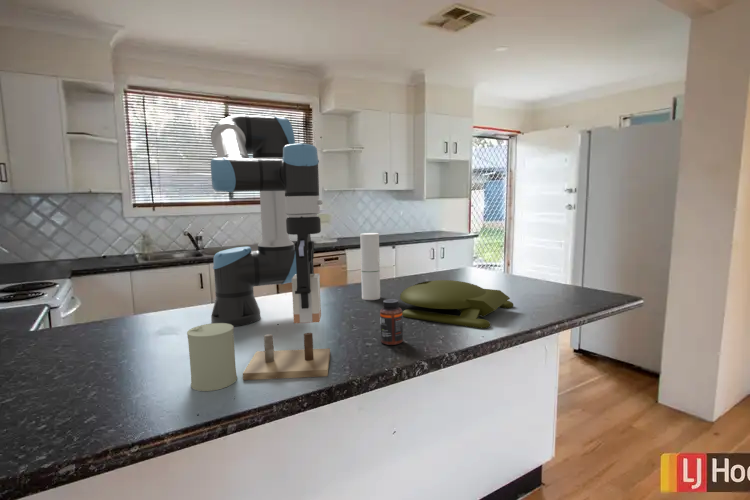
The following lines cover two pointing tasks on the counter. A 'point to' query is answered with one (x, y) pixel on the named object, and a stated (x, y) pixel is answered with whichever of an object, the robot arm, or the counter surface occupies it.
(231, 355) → the can
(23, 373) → the counter surface
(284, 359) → the pin board
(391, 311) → the supplement bottle
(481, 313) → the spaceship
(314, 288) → the sleeve
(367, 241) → the cylindrical container
